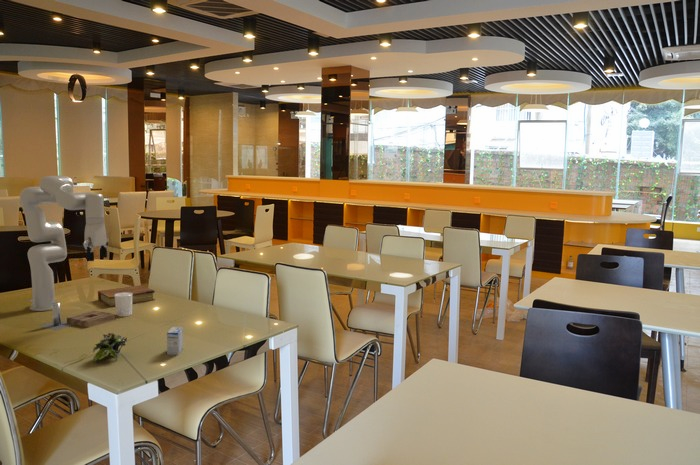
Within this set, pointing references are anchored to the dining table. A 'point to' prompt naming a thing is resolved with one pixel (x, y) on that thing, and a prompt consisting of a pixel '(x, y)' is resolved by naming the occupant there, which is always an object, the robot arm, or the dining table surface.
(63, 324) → the mat
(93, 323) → the hole block
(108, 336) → the green leafy plant
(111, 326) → the dining table surface
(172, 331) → the medicine box
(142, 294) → the diary
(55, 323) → the peg
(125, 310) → the white cup
